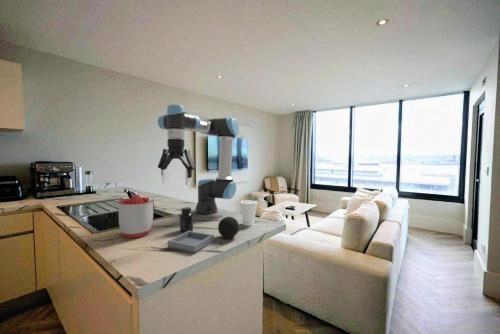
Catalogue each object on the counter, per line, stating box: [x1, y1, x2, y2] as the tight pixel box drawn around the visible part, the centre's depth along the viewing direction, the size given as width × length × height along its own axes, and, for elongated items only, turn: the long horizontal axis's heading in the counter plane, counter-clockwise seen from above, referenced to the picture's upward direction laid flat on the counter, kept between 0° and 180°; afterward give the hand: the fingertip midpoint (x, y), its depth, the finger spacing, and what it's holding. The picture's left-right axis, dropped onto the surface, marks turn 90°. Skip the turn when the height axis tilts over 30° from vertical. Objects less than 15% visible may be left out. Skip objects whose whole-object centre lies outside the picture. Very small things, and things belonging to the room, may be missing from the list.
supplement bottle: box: [179, 206, 194, 234], centre depth 113 cm, size 7×7×12 cm
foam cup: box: [240, 199, 258, 227], centre depth 126 cm, size 10×9×13 cm
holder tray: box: [167, 230, 215, 255], centre depth 97 cm, size 14×14×3 cm
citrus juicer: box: [117, 193, 158, 239], centre depth 108 cm, size 16×17×20 cm
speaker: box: [217, 216, 240, 239], centre depth 105 cm, size 10×10×10 cm
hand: (176, 183), depth 104 cm, fingers open, 13 cm apart
